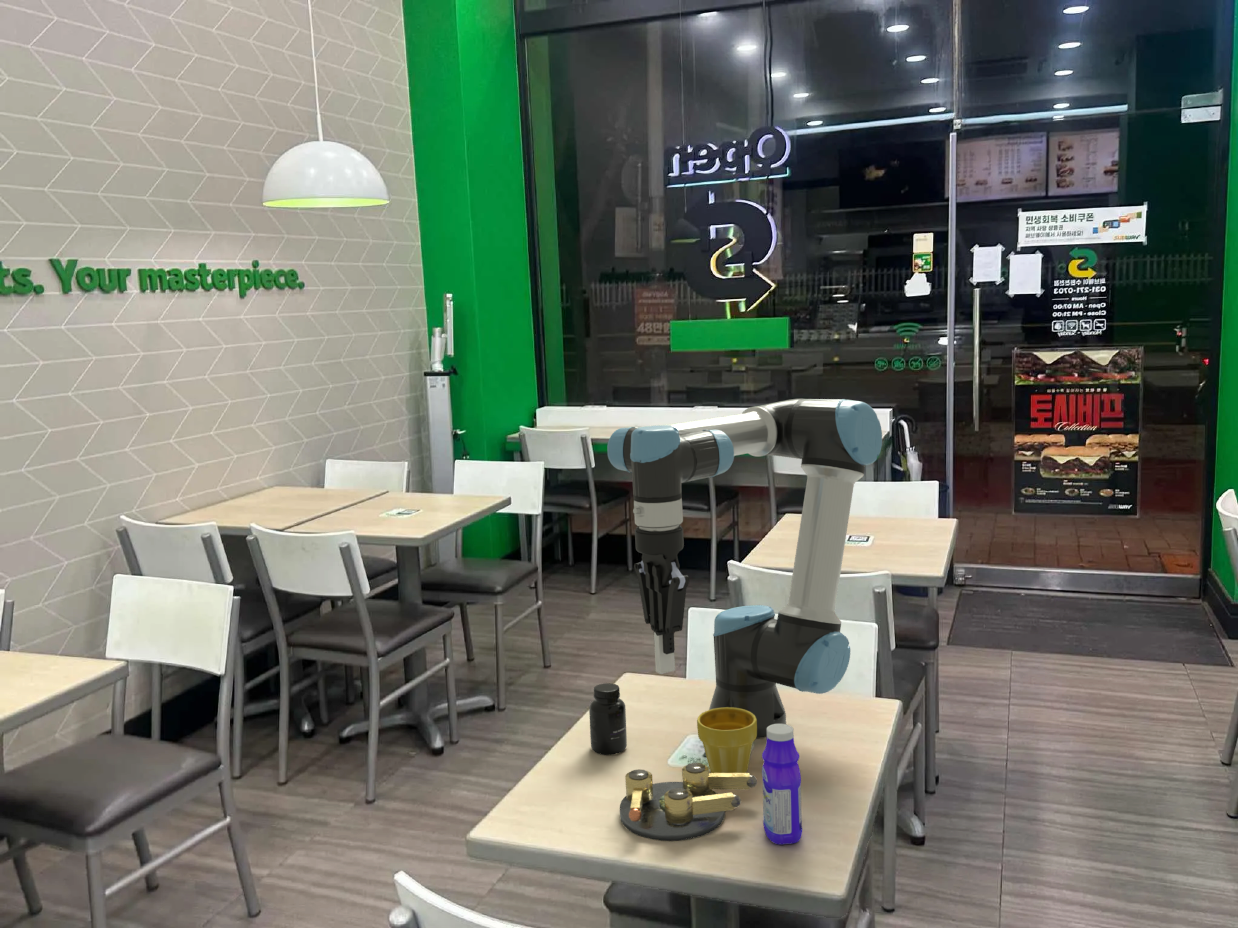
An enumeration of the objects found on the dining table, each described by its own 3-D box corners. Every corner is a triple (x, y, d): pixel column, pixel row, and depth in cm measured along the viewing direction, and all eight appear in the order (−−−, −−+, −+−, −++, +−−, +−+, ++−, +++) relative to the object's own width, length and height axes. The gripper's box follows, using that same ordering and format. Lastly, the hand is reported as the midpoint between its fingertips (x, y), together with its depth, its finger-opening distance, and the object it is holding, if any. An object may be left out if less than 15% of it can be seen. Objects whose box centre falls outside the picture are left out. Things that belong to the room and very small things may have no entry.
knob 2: (668, 825, 159) (667, 800, 159) (662, 811, 163) (661, 788, 163) (744, 815, 161) (744, 791, 160) (737, 802, 165) (736, 778, 165)
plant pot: (723, 789, 175) (721, 734, 174) (687, 768, 184) (685, 716, 182) (770, 772, 180) (768, 719, 179) (733, 752, 189) (731, 702, 188)
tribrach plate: (710, 784, 177) (709, 769, 177) (737, 832, 160) (736, 816, 160) (612, 796, 174) (611, 781, 174) (629, 846, 158) (629, 830, 157)
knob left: (682, 795, 168) (681, 772, 168) (683, 783, 173) (682, 760, 172) (757, 795, 167) (757, 772, 167) (756, 783, 172) (756, 760, 171)
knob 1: (627, 790, 171) (626, 767, 171) (653, 790, 171) (652, 767, 170) (620, 826, 159) (619, 802, 159) (649, 826, 159) (648, 802, 158)
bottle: (759, 825, 162) (756, 720, 160) (794, 822, 163) (792, 717, 160) (769, 849, 155) (766, 739, 153) (806, 845, 156) (804, 736, 153)
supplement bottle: (623, 756, 190) (620, 694, 188) (587, 755, 191) (584, 693, 189) (630, 741, 196) (627, 681, 195) (595, 740, 198) (592, 680, 196)
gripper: (617, 522, 164) (624, 664, 168) (660, 536, 153) (667, 688, 156) (657, 516, 168) (663, 655, 171) (702, 528, 156) (708, 677, 160)
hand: (665, 670), depth 164 cm, fingers closed
